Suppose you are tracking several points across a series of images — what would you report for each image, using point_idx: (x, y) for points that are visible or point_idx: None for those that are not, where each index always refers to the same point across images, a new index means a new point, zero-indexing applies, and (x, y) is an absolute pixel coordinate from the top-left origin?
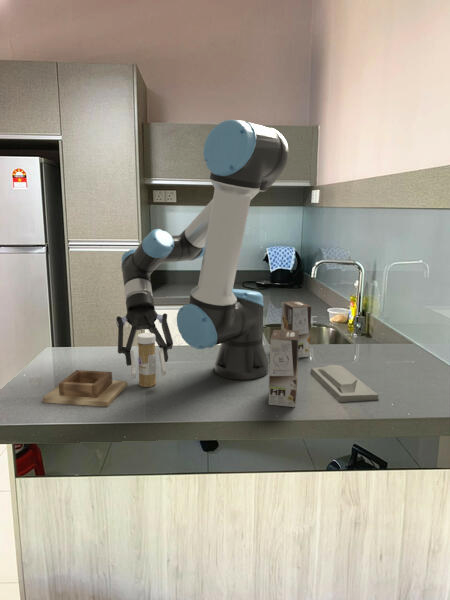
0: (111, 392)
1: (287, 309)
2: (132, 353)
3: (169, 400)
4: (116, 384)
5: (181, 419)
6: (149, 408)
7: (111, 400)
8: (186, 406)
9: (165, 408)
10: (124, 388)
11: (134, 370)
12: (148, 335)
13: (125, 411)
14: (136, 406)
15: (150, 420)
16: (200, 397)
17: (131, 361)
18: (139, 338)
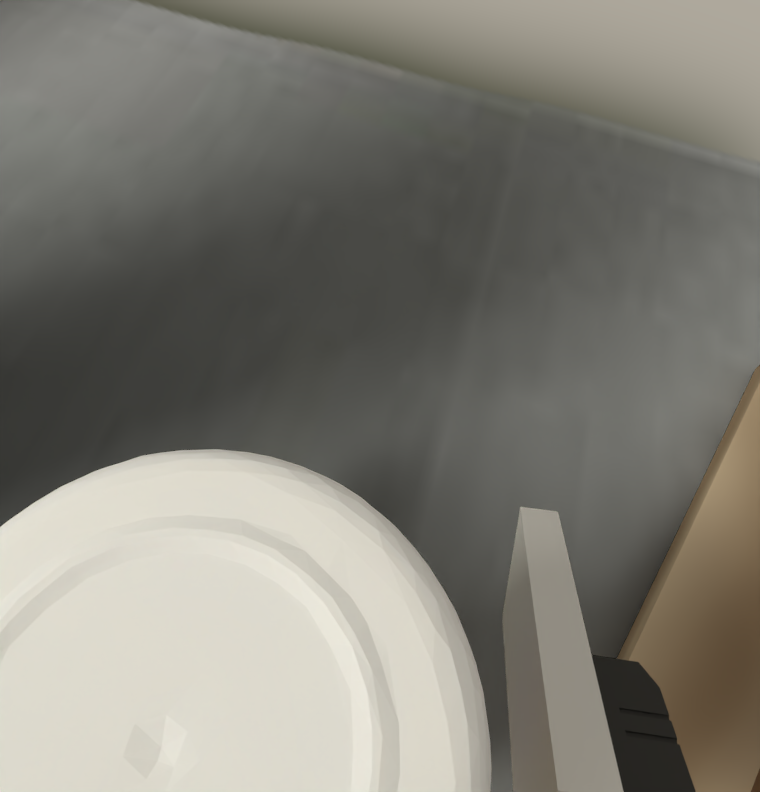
0: (746, 530)
1: None
2: (571, 737)
3: (289, 307)
4: (693, 740)
5: (326, 69)
6: (460, 243)
7: (734, 421)
8: (226, 190)
9: (361, 209)
10: None
11: (536, 533)
12: (127, 619)
13: (627, 257)
14: (541, 301)
15: (493, 109)
16: (71, 274)
17: (582, 625)
18: (451, 609)
